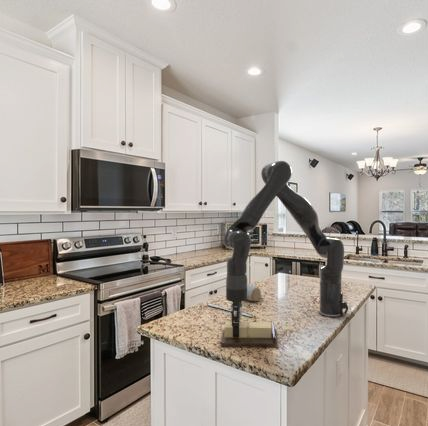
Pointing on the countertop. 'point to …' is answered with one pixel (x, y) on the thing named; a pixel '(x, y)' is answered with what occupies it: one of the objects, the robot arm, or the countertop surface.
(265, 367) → the countertop surface
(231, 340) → the board
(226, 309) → the butter knife
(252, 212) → the robot arm
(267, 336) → the beige rectangular block
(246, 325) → the pad
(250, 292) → the ceramic mug
